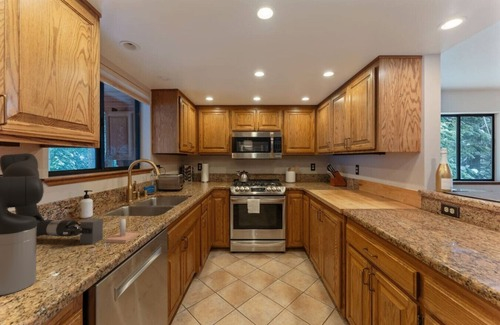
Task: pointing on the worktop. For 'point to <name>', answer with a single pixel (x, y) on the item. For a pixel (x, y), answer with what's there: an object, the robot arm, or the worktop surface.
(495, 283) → the worktop surface
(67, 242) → the worktop surface
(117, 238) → the shaft plate
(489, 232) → the worktop surface
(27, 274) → the robot arm
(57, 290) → the worktop surface
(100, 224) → the dark grey upright block
